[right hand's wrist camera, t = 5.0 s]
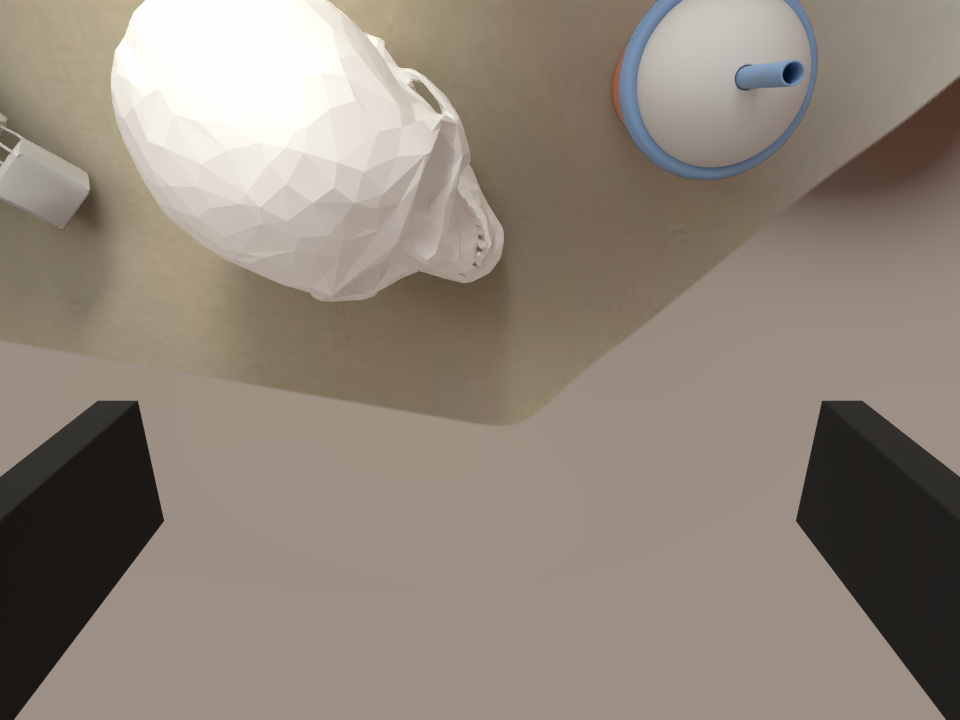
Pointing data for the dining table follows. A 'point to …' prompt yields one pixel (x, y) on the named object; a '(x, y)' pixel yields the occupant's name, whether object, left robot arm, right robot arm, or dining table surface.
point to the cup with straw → (715, 83)
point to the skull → (299, 147)
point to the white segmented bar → (41, 181)
